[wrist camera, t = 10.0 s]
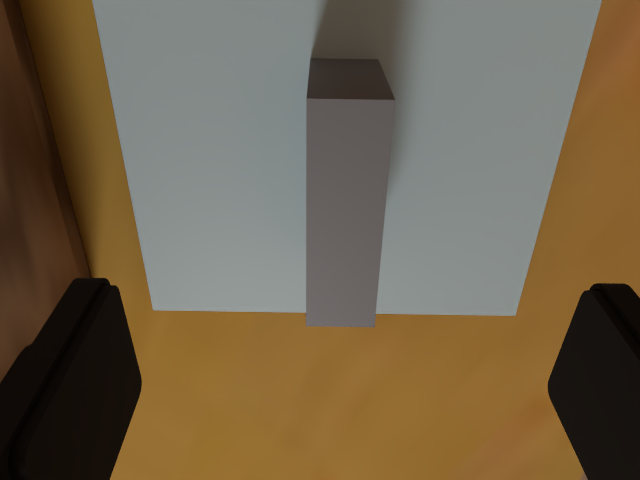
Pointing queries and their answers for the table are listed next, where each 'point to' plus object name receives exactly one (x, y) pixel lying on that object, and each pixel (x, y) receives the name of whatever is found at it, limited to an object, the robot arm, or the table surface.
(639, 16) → the table surface
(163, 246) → the lid
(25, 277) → the crate
